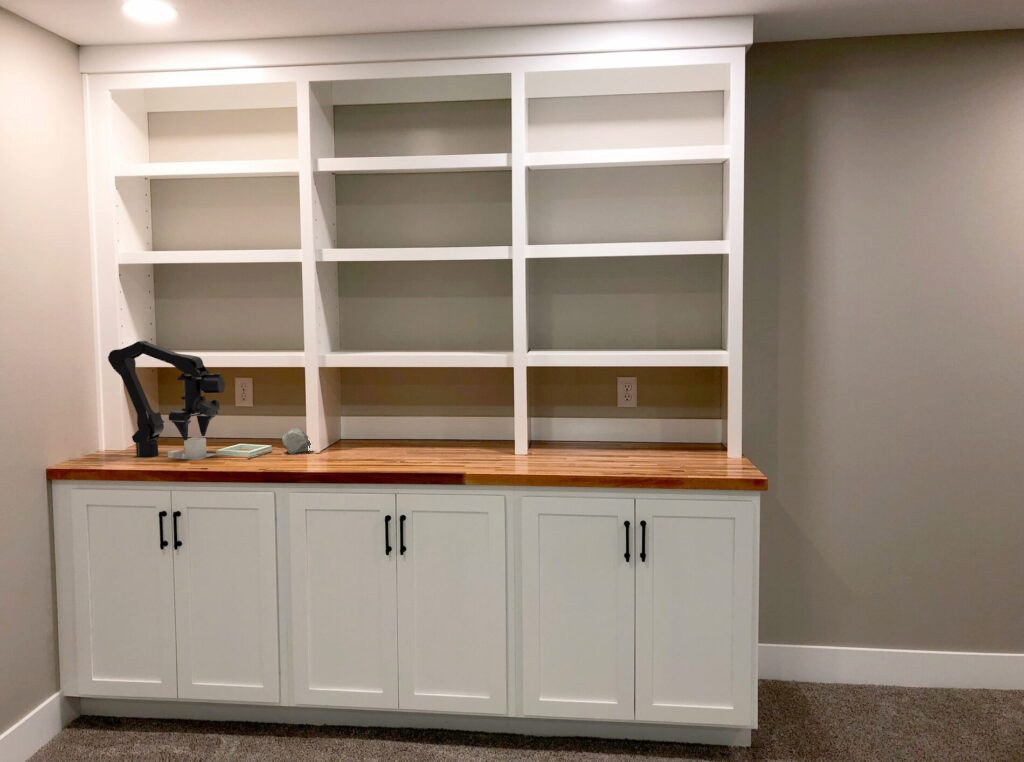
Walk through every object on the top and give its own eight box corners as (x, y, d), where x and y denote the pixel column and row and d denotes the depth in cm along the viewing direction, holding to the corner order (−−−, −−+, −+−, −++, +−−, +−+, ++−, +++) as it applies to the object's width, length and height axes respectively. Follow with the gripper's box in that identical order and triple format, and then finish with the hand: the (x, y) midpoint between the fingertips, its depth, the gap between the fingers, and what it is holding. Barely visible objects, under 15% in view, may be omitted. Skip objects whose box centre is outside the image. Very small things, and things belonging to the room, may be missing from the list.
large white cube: (184, 456, 290) (184, 439, 289) (194, 454, 294) (193, 437, 294) (197, 457, 288) (196, 440, 287) (206, 454, 293) (205, 437, 292)
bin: (216, 457, 294) (216, 450, 293) (240, 450, 307) (239, 443, 306) (249, 459, 290) (249, 452, 289) (272, 452, 302) (272, 445, 302)
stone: (300, 422, 306) (285, 426, 297) (319, 441, 305) (305, 445, 295) (285, 441, 308) (270, 445, 299) (304, 460, 307) (290, 464, 297)
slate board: (165, 460, 288) (165, 451, 288) (189, 454, 299) (188, 445, 299) (196, 462, 284) (196, 453, 284) (219, 456, 296) (219, 447, 295)
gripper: (194, 397, 278) (196, 443, 279) (229, 391, 295) (231, 435, 297) (166, 395, 281) (168, 442, 283) (203, 389, 299) (204, 433, 300)
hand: (194, 438), depth 291 cm, fingers open, 9 cm apart
